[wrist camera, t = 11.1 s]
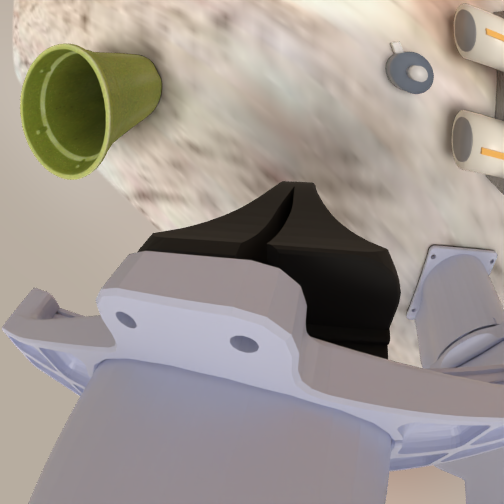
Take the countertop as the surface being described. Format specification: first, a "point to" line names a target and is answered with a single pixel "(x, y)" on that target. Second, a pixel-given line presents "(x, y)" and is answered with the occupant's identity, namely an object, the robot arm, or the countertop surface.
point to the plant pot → (84, 105)
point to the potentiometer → (409, 70)
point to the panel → (499, 114)
